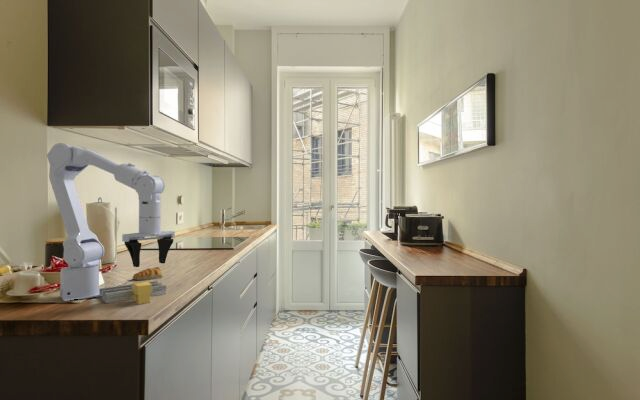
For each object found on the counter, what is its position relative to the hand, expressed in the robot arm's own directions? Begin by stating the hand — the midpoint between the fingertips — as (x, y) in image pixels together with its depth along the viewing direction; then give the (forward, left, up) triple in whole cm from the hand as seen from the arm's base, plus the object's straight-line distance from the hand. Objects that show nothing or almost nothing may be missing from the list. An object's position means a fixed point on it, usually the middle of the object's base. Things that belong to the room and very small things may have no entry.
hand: (149, 264), depth 109 cm
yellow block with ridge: (-3, -3, -10) cm, 10 cm away
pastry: (+8, +27, -10) cm, 30 cm away
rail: (-3, +6, -10) cm, 11 cm away
